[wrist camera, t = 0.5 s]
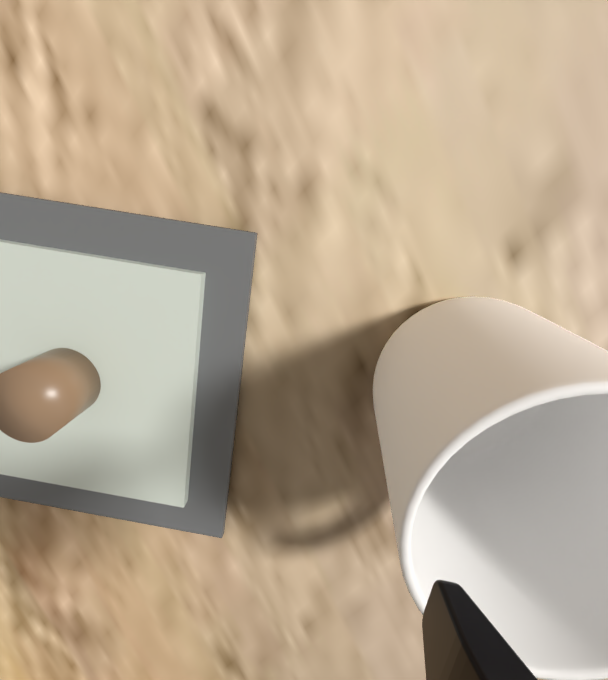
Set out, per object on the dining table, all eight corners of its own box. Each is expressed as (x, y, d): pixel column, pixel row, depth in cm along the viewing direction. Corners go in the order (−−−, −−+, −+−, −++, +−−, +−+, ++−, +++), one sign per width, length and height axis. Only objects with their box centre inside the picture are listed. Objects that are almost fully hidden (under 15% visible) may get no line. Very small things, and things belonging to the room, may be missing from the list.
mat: (223, 532, 23) (221, 538, 23) (-57, 480, 24) (-64, 485, 23) (257, 232, 18) (255, 233, 18) (-95, 177, 19) (-104, 176, 19)
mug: (487, 537, 22) (608, 804, 12) (331, 497, 22) (323, 729, 12) (587, 317, 18) (875, 440, 8) (400, 271, 18) (469, 338, 9)
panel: (187, 500, 22) (159, 552, 19) (-32, 460, 23) (-99, 504, 19) (205, 272, 19) (175, 285, 15) (-55, 230, 19) (-142, 234, 16)
